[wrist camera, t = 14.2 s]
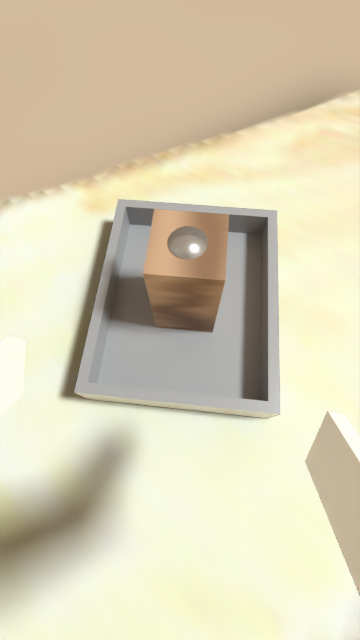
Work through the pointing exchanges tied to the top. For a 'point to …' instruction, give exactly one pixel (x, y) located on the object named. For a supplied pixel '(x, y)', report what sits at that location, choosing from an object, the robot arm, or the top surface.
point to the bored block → (186, 268)
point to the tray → (185, 345)
